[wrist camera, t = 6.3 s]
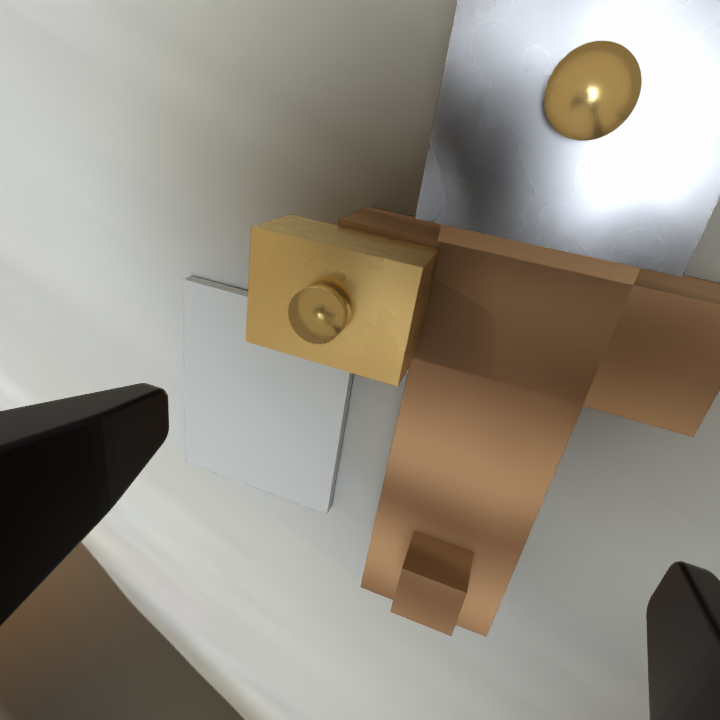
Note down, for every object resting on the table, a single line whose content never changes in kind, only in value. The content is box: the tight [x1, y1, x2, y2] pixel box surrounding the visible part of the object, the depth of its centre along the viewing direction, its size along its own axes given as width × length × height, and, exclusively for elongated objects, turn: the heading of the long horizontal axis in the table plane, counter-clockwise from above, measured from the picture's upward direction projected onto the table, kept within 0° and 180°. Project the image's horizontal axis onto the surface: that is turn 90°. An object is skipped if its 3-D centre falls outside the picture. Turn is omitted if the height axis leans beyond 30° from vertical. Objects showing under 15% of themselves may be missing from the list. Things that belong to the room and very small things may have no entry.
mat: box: [184, 276, 353, 514], centre depth 23 cm, size 10×8×1 cm
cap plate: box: [415, 0, 720, 277], centre depth 11 cm, size 7×6×3 cm
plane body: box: [338, 207, 720, 636], centre depth 17 cm, size 23×12×5 cm, turn 171°
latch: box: [245, 214, 440, 387], centre depth 15 cm, size 4×5×3 cm
